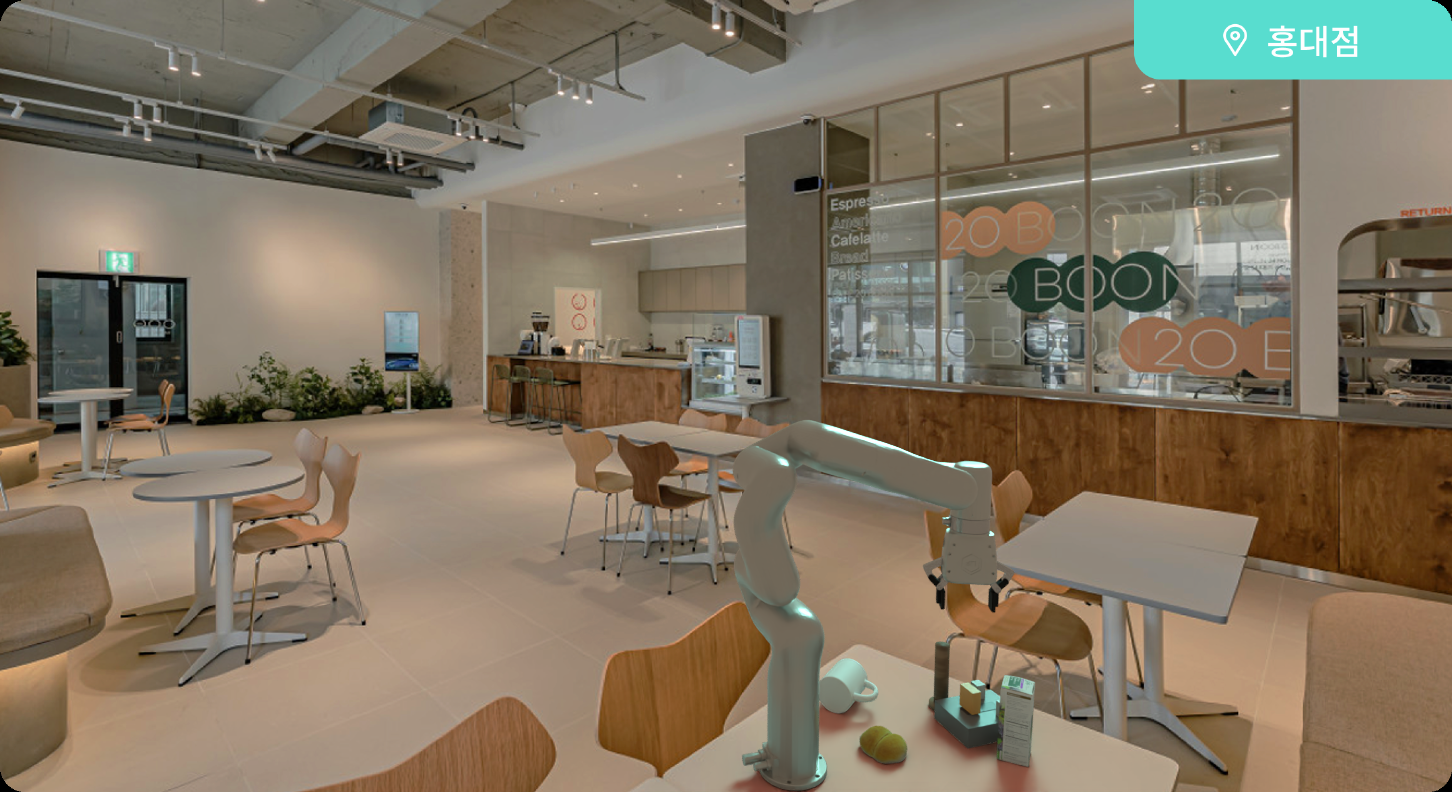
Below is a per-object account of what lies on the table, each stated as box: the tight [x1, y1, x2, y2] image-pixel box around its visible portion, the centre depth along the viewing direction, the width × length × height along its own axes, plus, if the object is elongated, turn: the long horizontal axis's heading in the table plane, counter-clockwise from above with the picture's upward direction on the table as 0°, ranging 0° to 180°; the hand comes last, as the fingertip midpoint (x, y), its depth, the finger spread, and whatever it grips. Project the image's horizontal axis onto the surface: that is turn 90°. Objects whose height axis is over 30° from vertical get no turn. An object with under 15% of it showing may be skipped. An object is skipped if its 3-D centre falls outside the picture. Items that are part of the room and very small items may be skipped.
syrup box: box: [996, 674, 1036, 768], centre depth 131 cm, size 6×6×14 cm
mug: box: [819, 658, 879, 714], centre depth 150 cm, size 12×10×8 cm
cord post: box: [928, 641, 951, 712], centre depth 148 cm, size 5×5×14 cm
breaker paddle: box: [959, 682, 981, 715], centre depth 140 cm, size 2×4×4 cm, turn 18°
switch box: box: [933, 679, 1000, 749], centre depth 141 cm, size 14×11×7 cm
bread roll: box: [859, 725, 908, 765], centre depth 133 cm, size 8×9×4 cm
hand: (966, 608), depth 137 cm, fingers open, 9 cm apart
